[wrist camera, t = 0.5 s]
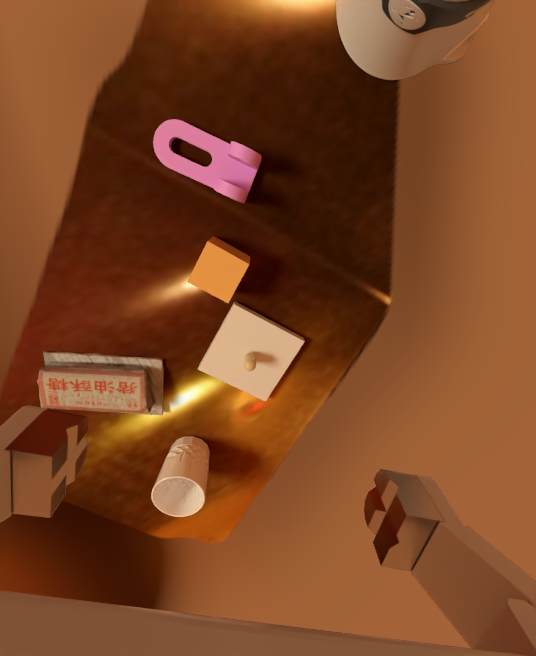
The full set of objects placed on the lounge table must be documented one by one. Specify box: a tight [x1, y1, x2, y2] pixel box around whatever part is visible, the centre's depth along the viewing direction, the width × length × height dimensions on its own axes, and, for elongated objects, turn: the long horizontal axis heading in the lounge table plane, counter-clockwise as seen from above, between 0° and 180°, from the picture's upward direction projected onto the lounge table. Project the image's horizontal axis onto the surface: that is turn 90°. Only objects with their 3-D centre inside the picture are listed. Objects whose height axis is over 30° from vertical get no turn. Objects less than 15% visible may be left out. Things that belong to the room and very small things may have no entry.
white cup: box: [151, 436, 210, 517], centre depth 56 cm, size 8×8×10 cm
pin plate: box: [198, 302, 305, 402], centre depth 52 cm, size 12×12×6 cm
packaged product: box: [37, 351, 164, 415], centre depth 54 cm, size 18×5×10 cm
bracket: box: [153, 119, 262, 203], centre depth 41 cm, size 13×6×7 cm, turn 66°
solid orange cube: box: [188, 236, 250, 303], centre depth 47 cm, size 6×6×6 cm
